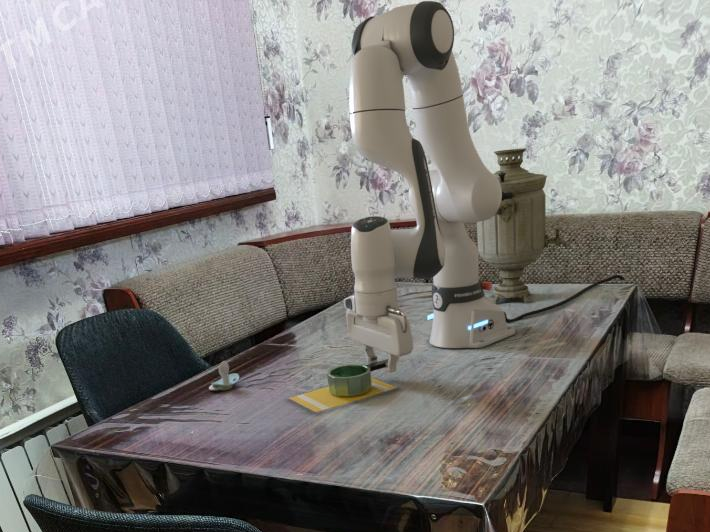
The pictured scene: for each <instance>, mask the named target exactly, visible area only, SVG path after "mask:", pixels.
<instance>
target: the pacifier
mask: <svg viewBox="0 0 710 532" xmlns="http://www.w3.org/2000/svg"><path fill="white" fill-rule="evenodd" d="M229 371H230V365H229V363H228V362H227V361H226V360H223V361H221V362H220V364H219V366H218V374H219V376H220V377H221V378H220V379H218V380H216V381H213V382H211V383H210V384H211V385H209V387H208V390H209V391H213V392H214V391H215V392H217V391H229V390H230V389H232V388H233V386H234V385H236V384H238V382H239V381H240V375H239V374H238V373H235V372H232V373H230V374H229Z"/></svg>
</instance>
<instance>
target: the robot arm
mask: <svg viewBox="0 0 710 532" xmlns="http://www.w3.org/2000/svg"><path fill="white" fill-rule="evenodd" d="M454 42H455V27H454V22H453V19H452V17H451V14H450V13H449V11H448V10H447V8H446V7H445V6H444V5H443V4H442V3H441V2H439V1H434V0H423V1H420V2H418V3H412V4H411V3H410V4H405V5H400V6H396V7H394V8H392V9H391V10H390V9H389V10H387V11H385V12H382V13H380V14H378V15H376V16H374V15H373V16H370V17H368V18H366V19H364V20H363V21H361V22H360V23H359V24H358V25H357V26H356V27H355V29H354V32H353V36H352V40H351V55H352V60H351V64H350V73H349V84H348V85H349V87H348V88H349V89H348V90H349V91H348V98H349V99H348V109H349V124H350V133H351V134H350V135H351V139H352V143H353V145H354V147H355V149H356V150H357V152H358V153H359V154H360V155H361V156H362V157H363V158H364V159H366V160H368V161H369V162H371V163H372V164H376V165H378V166H381V167H383V168H386V169H388V170H391V171H394V172H396V173H397V174H400V176H402V177H403V178H404V179H405V180H406V182H407V184H408V185H409V189H408V203H409V207H410V209H411V210H412V212H413V213H414V215H415V222H416V227H414V228H404V229H403V228H402V229H391V225H390V222H389V220H388V219H387V218H386V217H382V216H378V215H377V216H376V215H374V216H366V217H363V218H360V219H358V220H356V221H355V222H354V223H353V224H352V225H351V230H350V258H351V259H350V260H351V261H350V262H351V269H352V272H353V275H354V285H353V292H354V293H353V294H352V295H350V296H348V297H346V298H344V299H343V307H344V309H345V320H346V321H345V322H346V328H347V334H348V336H349V338H350V340H351V341H352V342H356V343H358V344H361V345H362V350H363V352H364V354H365V357H366V363H367V365H368V364H372V363H375V362H378V356H377V355H376V354H375V351H374V349H375V350H378V351H381V352H385V353H386V357H387V359H388V363H386V367H385V371H386V372H388V373H391V374H392V373H395V372H396V371H397V363H398V360H399V357H403V356H407V355H410V354H412V352H413V351H414V350H413V349H414V343H413V335H412V329H411V324H410V321H409V319H408V318H407V317H408V316H407V315H406V314H405V312H404V310H402V309H401V308H399V301H398V288H397V287H398V286H397V282H396V279H418V280H431V279H432V284H431V300H432V307H433V313H431V314H429V315H427V321H429V320H431V319H432V324H431V331H430V336H429V340H428V342H429V344H430V345H431V346H434V347H437V348H443V349H465V348H466V349H467V348H468V349H469V348H470V349H480V348H484V347H487V346H489V345H491V344H494V343H497V342H498V341H502V340H504V339H506V338H509V337H511V336H513V335H516V330H515V328H514V327H511V326H510V325H507V323H513V322H517V321H519V320H522V319H524V318H527V317H530V316H533V315H537V314H541V313H544V312H547V311H551V310H553V309H555V308H559V307H560V306H564V305H565V304H567V303H569V302H571V301H573V300H574V299H576V298H578V297H579V296H581V295H582V294H584V293H586V292H587V291H589V290H592V288H594V287H597V286H598V285H601V284H605V283H607V282H609V281H611V280H612V281H613V280H614V279H620V280H621V281H625V280H626V279H625V278H624V276H622V275H621V274H614V275H611V276H609V277H606V278H604V279H601V280H598V281H596V282H594V283H592V284H590V285H587V286H586V287H585V288H582V289H581V290H580V291H578V292H576V293H575V294H573V295H571V296H569V297H568V298H566V299H564V300H561V301H560V302H557V303H555V304H552V305H549V306H546V307H543V308H539V309H535V310H532V311H528V312H525V313H522V314H520V315H518V316H517V317H515V318H511V319H510V318H508V315H507V313H506V312H505V311H504V310H503V308H502V307H500V306H499V305H497V304H495V303H494V302H492V300H491V299H490V298H488V297H487V296H485V295H486V293H485V292H484V291H488V292H489V291H491V290H492V289H493V283H492V282H491V281H487V280H484V281H483V282H482V281H480V280H479V279H480V278H479V275H480V273H479V270H480V269H479V268H480V267H479V251H478V245H477V244H476V243H475V241H473V240H472V238H471V237H470V236H469V234H468V231H467V229H466V227H465V224H477V222H481V221H484V220H488V219H490V218H492V217H493V216H494V215H495V214H496V212H497V211H498V209H499V207H500V204H501V199H502V190H501V185H500V182H499V180H498V179H497V177H496V176H494V175H493V174H494V173H492V172H491V171H490V169H488V168H487V166H486V165H485V163H484V162H483V160H482V159H481V156H480V155H479V153H478V150H477V148H476V146H475V144H474V141H473V138H472V135H471V131H470V128H469V122H468V117H467V111H466V105H465V98H464V92H463V86H462V81H461V77H460V72H459V68H458V65H457V61H456V58H455V55H454V52H453V48H454ZM405 76H406V77H407V78H408V87H409V96H410V103H411V107H412V113H413V120H414V123H415V127H416V128H415V130H416V135H417V139H416V138H414V137H413V135H412V133H411V131H410V129H409V125H408V121H407V116H406V99H405V89H404V81H403V80H404V77H405ZM426 155H427V156H426ZM427 157H428V158H429V159H430V160H431V162H432V163H433V164H434V166H435V168H436V169H431V170H429V165H428V160H427Z"/></svg>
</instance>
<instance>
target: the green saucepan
mask: <svg viewBox="0 0 710 532" xmlns="http://www.w3.org/2000/svg"><path fill="white" fill-rule="evenodd" d="M388 359H389V358H386V359H383V360H379V361H377V362H375V363H372V364H368V363H367V364H356V363H355V364H353V363H350V364H344V365H338V366H335V367H333V368H331V369H329V370H328V372H327V374H326V375H327V384H328V387H329V392H330V393H331V394H334V395H336V396H341V397H352V396H358V395H362V394H364V393H366V392H368V391H370V390H371V389H372V380H371V377H372V372H375V371H377V370H380V369H386V363H388Z"/></svg>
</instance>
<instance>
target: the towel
mask: <svg viewBox="0 0 710 532" xmlns="http://www.w3.org/2000/svg"><path fill="white" fill-rule="evenodd" d="M371 380H372V389H371V390H370V391H368V392H366V393H364V394H362V395H358V396H352V397H341V396H336V395H334V394H331V393H330V392H329V386H326V387H323V388H319V389H315V390H312V391H309V392H308V391H307V392H305V393H301V394H298V395H294V396H291V397H288V399H289V400H292V401H293V402H295V403H298V404H299V405H301V406H303V407H304V408H307V409H309V410H310V411H313V413H319V412H323V411H326V410H330V409H333V408H335V407H338V406H343V405H346V404H349V403H352V402H356V401H359V400H362V399H366V398H370V397H372V396H376V395H378V394H382V393H385V392H389V391H392V390H395V389H398V387H397V386H394V385H392V384H389V383H387V382H385V381H382V380H379V379H377V378H374V377H372V376H371Z"/></svg>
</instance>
